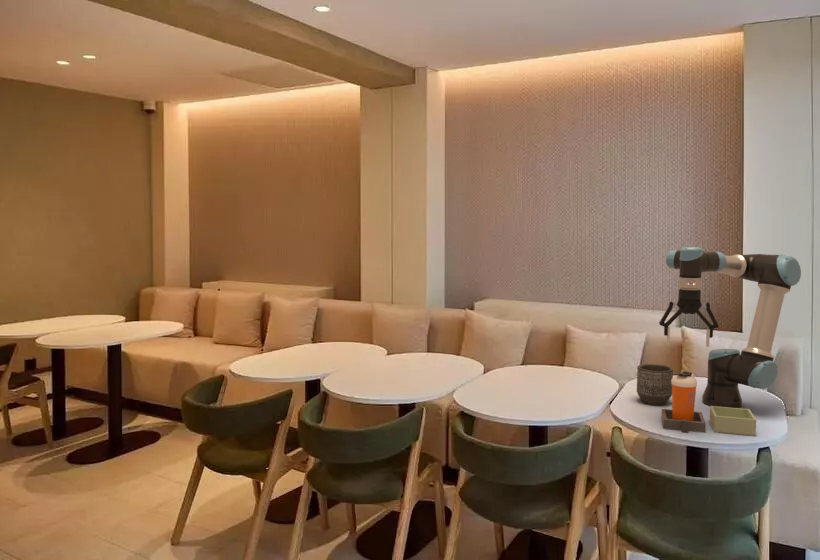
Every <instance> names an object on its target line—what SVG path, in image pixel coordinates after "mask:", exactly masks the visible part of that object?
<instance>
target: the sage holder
mask: <svg viewBox="0 0 820 560" xmlns="http://www.w3.org/2000/svg"><path fill="white" fill-rule="evenodd" d="M709 423H710V426H711V428H712V431H713V433H717V434H720V433H721V434H728V435H738V436H740V435H741V436H749V437H751V436H752V437H756V435H757V418H756V417H755V416H754V414H753V413H752V411H751V409H750V408H742V407H739V408H729V407H717V406H710V405H709Z"/></svg>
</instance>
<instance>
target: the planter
mask: <svg viewBox="0 0 820 560" xmlns="http://www.w3.org/2000/svg"><path fill="white" fill-rule="evenodd" d="M636 368H637V371H636V375H637V376H636V394H637V395H638V397H639V399H640V401H641V402H642V403H644V404H646V405H652V406H664V405H666V404H667V403H668V402H669V401H670V399H671V398H672V384H671V380H672V378H673V377H674V368H673V367H671V366H669V365H664V364H655V363H654V364H653V363H643V364H639V365H637V367H636Z"/></svg>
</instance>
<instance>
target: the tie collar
mask: <svg viewBox="0 0 820 560" xmlns="http://www.w3.org/2000/svg"><path fill="white" fill-rule="evenodd" d="M660 411H661V412H660V415H661V416H660V418H661V425H662V429H663V430H673V431H681V433H682V434H683V433H684V434H685V433H686V434H688V433H689V432H695V433H696V432H697V433H703V434H705V433H706V429H707V428H706V427H707V426H706V425H707V423H706V420H705V417H704V415H703V413H702V411H695V410H694V416H693V421H688V419H682V420H673V419H672V408H669V409H667V408H661V410H660Z"/></svg>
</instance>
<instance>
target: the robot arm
mask: <svg viewBox="0 0 820 560" xmlns="http://www.w3.org/2000/svg"><path fill="white" fill-rule="evenodd" d="M665 263H666V266H667V267H669V269H674V270H679V275H678V278H679V279H678V288H679V289H678V300H677V301H672V300H670V301H669V302H668V307H667V308H666V310H665V312H664V313H663V315H662V317H661V318H660V320H659V322H658V324H659V326H661V327H663V335H664V336H666V346H670V343H671V340H670V339H671V337H670V336H671V327H670V325H671V324H672V323H673V322H674V321H676V319H677V318H678V317H679V316H681V314H684V315H688V314H690V315H695V314H697V316H698V317H699V318H700V319H701V320H702V321H703V323H704V324H705V325H706V326H707V327H708V328H706V333H705V334H706V336H705V338H706V339H705V346H706V348H710V338H713V336H714V330H715V329H717V328H719V327H720V326H719V324H718V323H719V322H717V320H716V318H715V315H714V314H713V311H712V309H711V305H710V303H709V302H708V301H706V302H702V301H701V300H702V299H701V296H702V293H701V288H702V273H712V274H713V273H714V274H722V275H728V276H730V277H732V278H738V279H740V280H741V279H742V280H746V281H751V282H755V283H757V287H758V288H759V289H760V292H759V296H758V299H757V304H756V308H755V312H754V316H753V320H752V323H751V324H752V325H751V329H750V333H749V338H748V342H747V346H746V347H745V348H743V349H742V350H741V352H740V350H739V349H736V348H735V349H734V348H719V349H718V348H717V349H712V350H710V351H709V353H708V359H707V383H706V386H705V389H704V391H703V394H702V398H701V401H702V403H703V404H705V405H707V406H709V407H710V406H717V407H729V408H742V406H743V399H742V396H741V392H740V389H739V384H740V385H742V386H747V387H750V388H753V389H755V388H756V389H759V390H760V389H761V390H764V389H767V388H769V387H770V386H772V385H773V384H774V383H775V381H776V379H777V377H778V372H779V369H778V364H776V362H775V361H774V360H775V357H774V355H773V354H772V348H773V345H774V344H773V343H774V340H775V336H776V332H777V328H778V324H779V319H780V315H781V312H782V307H783V302H784V298H785V295H786V294H788V293H789V292H790V291H791V288H792V286H793V287H794V286H796V285H797V284H798V283H799V282H800V280H801V276H802V270H801V266H800V263H799V261H798V259H796V258H795V257H793V256H792V255H791V256H790V255H785V254H784V255H783V254H764V253H752V254H751V253H750V254H737V253H736V254H732V255H725V254H724V253H723V252H721V251H714V250H713V251H703V248H702V247H700V246H699V247H698V246H693V247H692V246H684V247H682V248H681V249H673V250H670V251H668V253H667V255H666V258H665ZM676 306H677V307H678V309H677V311H676V312H675V313H674V314H673V315H672V316H671V317H669V315H670V313H671V312H672V310H673V308H675V307H676ZM702 307H703V309H705V310H706V313H707V314H708V316H709V318H710V320H711V322H712V324H711V323H710V321H708V319H707V318H706V317H705V316H704V315H703V314H702V312H701V311H700V309H701V308H702ZM668 317H669V318H668ZM667 318H668V320H667ZM666 320H667V321H666Z"/></svg>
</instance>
